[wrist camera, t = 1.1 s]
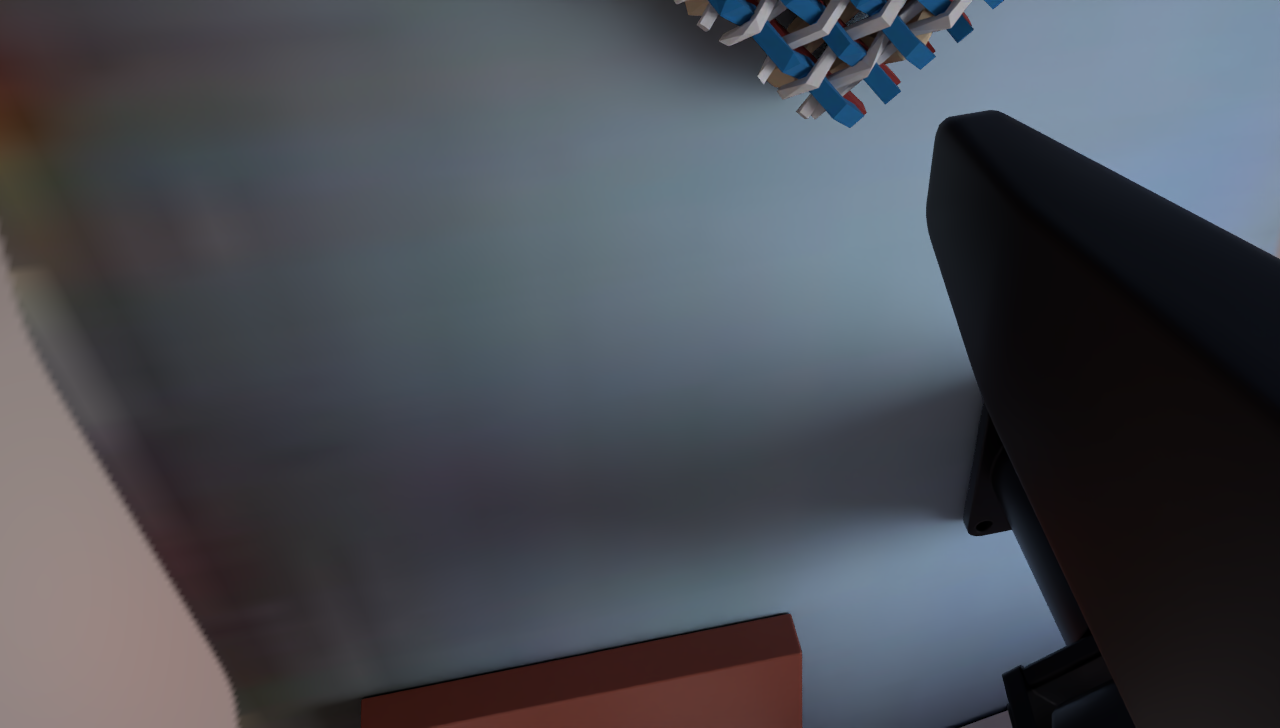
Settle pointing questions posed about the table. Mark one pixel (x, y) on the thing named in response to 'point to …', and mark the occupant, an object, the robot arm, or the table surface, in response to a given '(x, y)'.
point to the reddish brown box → (624, 687)
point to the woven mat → (837, 44)
